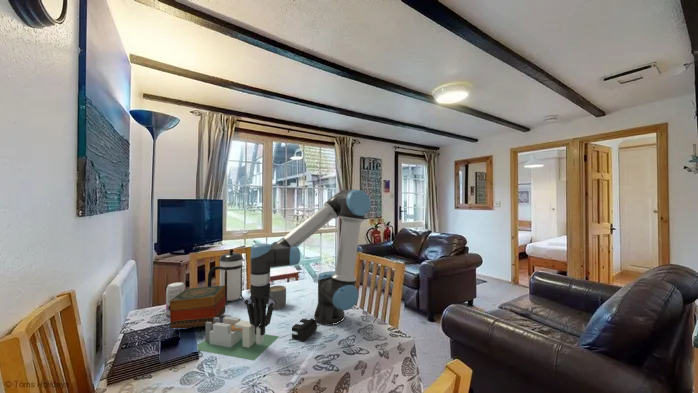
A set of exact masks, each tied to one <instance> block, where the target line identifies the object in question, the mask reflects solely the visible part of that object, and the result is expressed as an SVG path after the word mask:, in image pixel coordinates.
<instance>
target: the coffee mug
mask: <svg viewBox="0 0 698 393" xmlns="http://www.w3.org/2000/svg"><path fill="white" fill-rule="evenodd" d="M270 297H271V300H272V301H276V304H275V305H274V308H273V311H275V310H282V309H284V308H286V307H287V287H286V286H285V285H280V284H279V285H272V286H271V285H270ZM268 304H269V302H268ZM268 304H267V308H268V307H269V306H268Z"/></svg>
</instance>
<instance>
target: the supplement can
mask: <svg viewBox="0 0 698 393" xmlns="http://www.w3.org/2000/svg"><path fill="white" fill-rule="evenodd" d="M184 290H186V285H185V283H184V282H179V281H177V282H172V283H169V284H168V285H167V286H166V290H165V291H166V292H165V296H166V298H165V304H166V305H165V306H166V307H165V314H166V316H168V317H170V300H172V299H173V298H174V297H176V296H177V295H179V294H180V293H181V292H183V291H184Z"/></svg>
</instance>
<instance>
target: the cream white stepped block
mask: <svg viewBox="0 0 698 393" xmlns="http://www.w3.org/2000/svg"><path fill="white" fill-rule="evenodd" d="M235 328H241V329H243V345H242V347H248V348H249V347H251V346H252V345H253V344H254V343H255V342H256V334H255V326H254V325H251V324H250V320H242V319H240V321H239V322H238V323H236V324H235Z"/></svg>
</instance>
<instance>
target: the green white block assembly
mask: <svg viewBox="0 0 698 393" xmlns="http://www.w3.org/2000/svg"><path fill="white" fill-rule="evenodd" d="M222 320H223V322H221V317H220V318H218V317H215V318H213V323H214V322H216V323H215V324H213V327H212V322H206V326H205V339H204V340H203V341H201V342H200V343H198V344H197V345H196V346H197V347H198V351H199V352H198V353H200V352H206V353H211V354H216V355H223V356H227V357H232V358H239V359H244V360H249V361H255V360H256V359H257V358H259V357H260V356H261V355H262V354H263V353H264V352H265V351H266V350H267V349H269V347H270V346H271V345H272V344H273V343H274V342H275V341H277V340H278V338H279V337H280V335H279V336H278V335H273V334H266V333H265V334H264V335H263V342H262V343H261V344H260V345H259V344H256V342H255V343H254V344H253V345H252V346H251V347H249V348H248V347H242V345H243V331H236V330H231V325H235V324H236V323H238V322H239V321H241V318H240V317H233V316H225V317H223V319H222Z"/></svg>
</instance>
